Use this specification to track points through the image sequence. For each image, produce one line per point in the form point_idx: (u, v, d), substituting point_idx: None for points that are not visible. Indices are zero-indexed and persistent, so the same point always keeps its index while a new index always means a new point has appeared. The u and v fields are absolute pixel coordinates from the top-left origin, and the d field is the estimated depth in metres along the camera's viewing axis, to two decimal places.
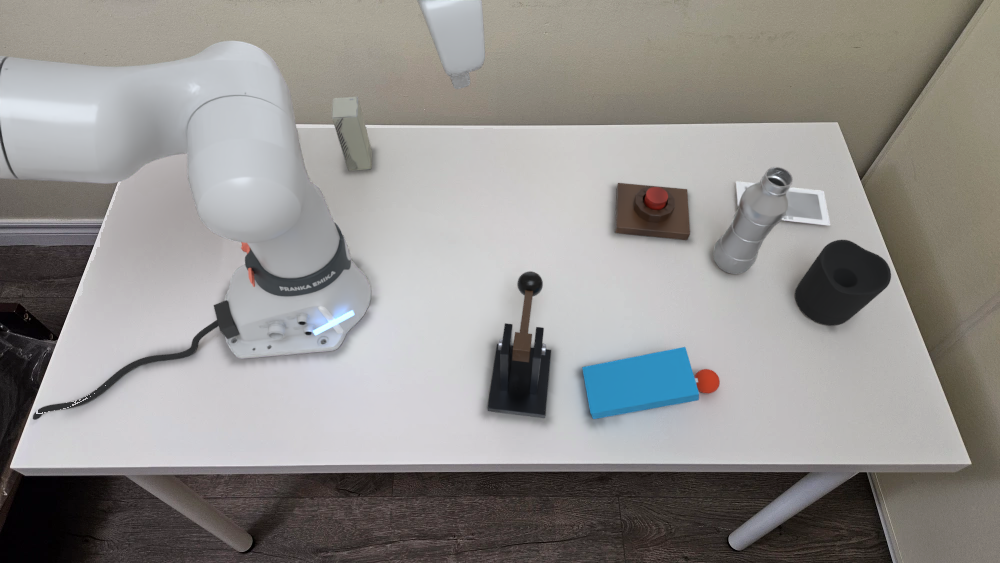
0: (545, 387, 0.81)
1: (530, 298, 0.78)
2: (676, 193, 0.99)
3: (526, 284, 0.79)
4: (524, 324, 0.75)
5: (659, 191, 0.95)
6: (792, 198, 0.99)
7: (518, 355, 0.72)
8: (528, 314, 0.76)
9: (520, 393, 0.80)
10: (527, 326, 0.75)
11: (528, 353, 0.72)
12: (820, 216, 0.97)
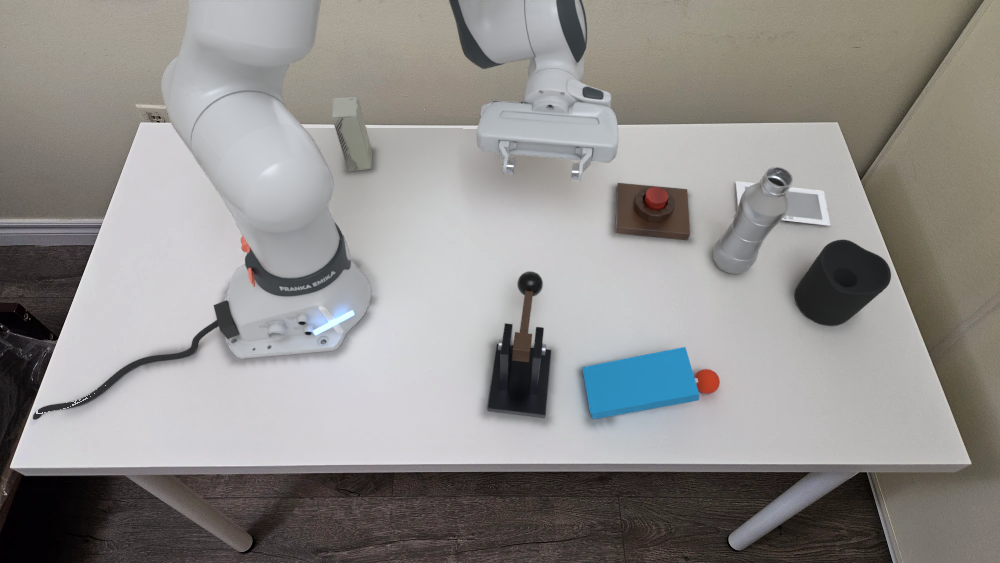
0: (545, 387, 0.81)
1: (530, 298, 0.78)
2: (676, 193, 0.99)
3: (526, 284, 0.79)
4: (524, 324, 0.75)
5: (659, 191, 0.95)
6: (792, 198, 0.99)
7: (518, 355, 0.72)
8: (528, 314, 0.76)
9: (520, 393, 0.80)
10: (527, 326, 0.75)
11: (528, 353, 0.72)
12: (820, 216, 0.97)
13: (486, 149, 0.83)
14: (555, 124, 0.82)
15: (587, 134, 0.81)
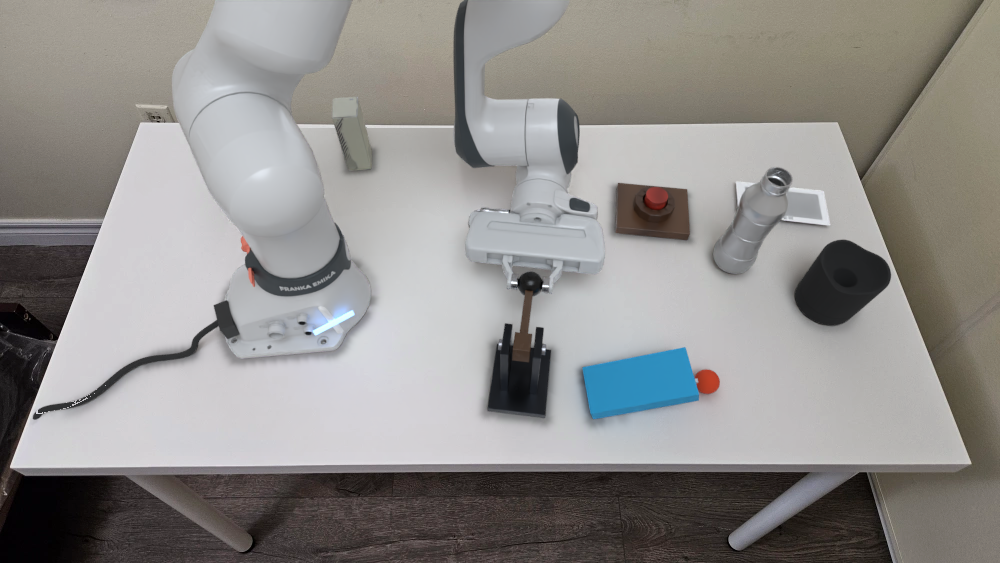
0: (545, 387, 0.81)
1: (530, 298, 0.78)
2: (676, 193, 0.99)
3: (526, 284, 0.79)
4: (524, 324, 0.75)
5: (659, 191, 0.95)
6: (792, 198, 0.99)
7: (518, 355, 0.72)
8: (528, 314, 0.76)
9: (520, 393, 0.80)
10: (527, 326, 0.75)
11: (528, 353, 0.72)
12: (820, 216, 0.97)
13: (474, 259, 0.84)
14: (542, 237, 0.83)
15: (573, 248, 0.82)
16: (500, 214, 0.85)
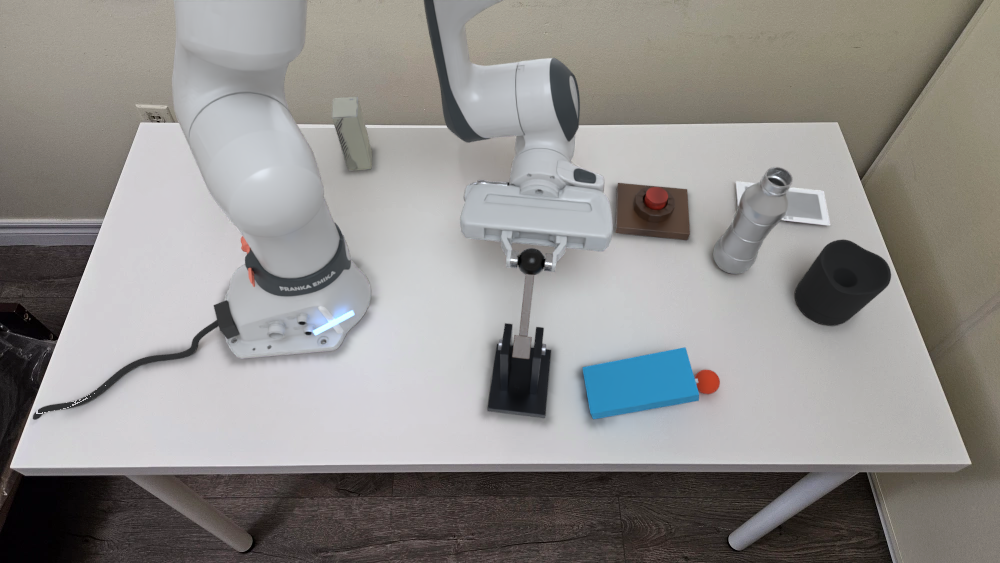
0: (545, 387, 0.81)
1: (531, 285, 0.73)
2: (676, 193, 0.99)
3: (526, 269, 0.73)
4: (524, 321, 0.73)
5: (659, 191, 0.95)
6: (792, 198, 0.99)
7: None
8: (528, 307, 0.73)
9: (520, 393, 0.80)
10: (527, 323, 0.73)
11: None
12: (820, 216, 0.97)
13: (470, 236, 0.77)
14: (544, 211, 0.76)
15: (578, 223, 0.75)
16: (498, 187, 0.78)
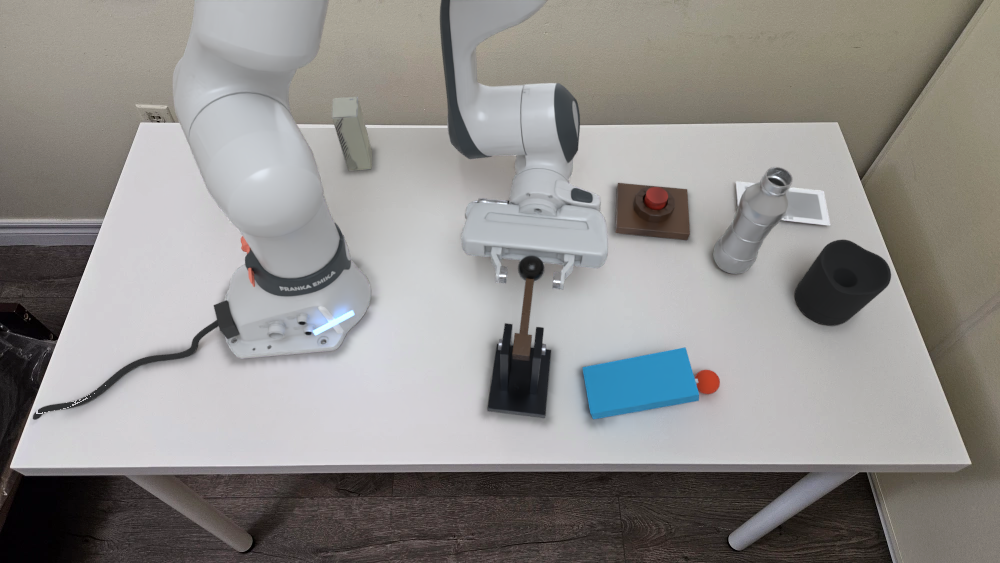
0: (545, 387, 0.81)
1: (531, 288, 0.76)
2: (676, 193, 0.99)
3: (527, 273, 0.76)
4: (524, 321, 0.74)
5: (659, 191, 0.95)
6: (792, 198, 0.99)
7: (518, 357, 0.73)
8: (528, 309, 0.75)
9: (520, 393, 0.80)
10: (527, 323, 0.74)
11: (528, 357, 0.72)
12: (820, 216, 0.97)
13: (471, 253, 0.80)
14: (542, 229, 0.79)
15: (575, 241, 0.78)
16: (498, 205, 0.81)
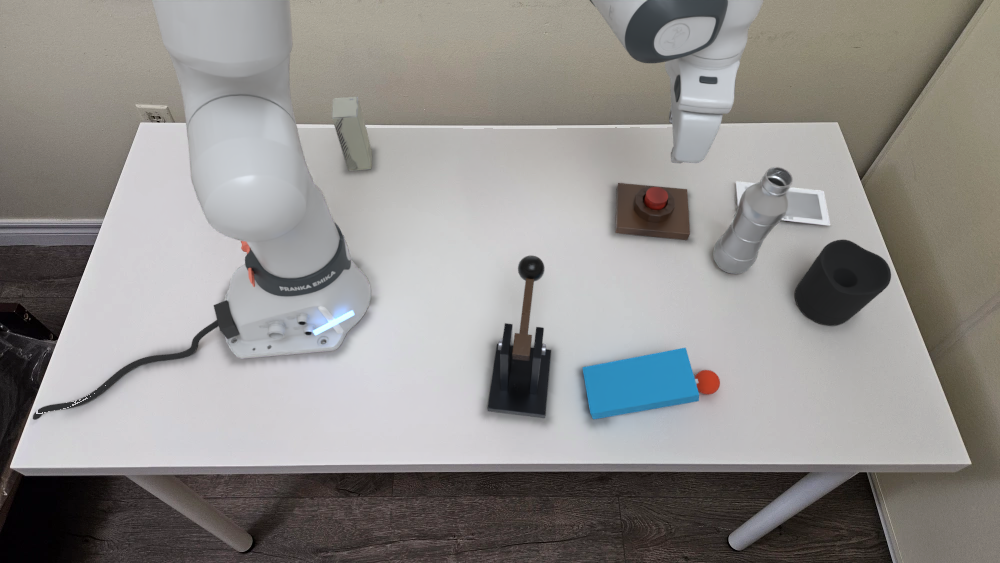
0: (545, 387, 0.81)
1: (531, 288, 0.76)
2: (676, 193, 0.99)
3: (527, 273, 0.76)
4: (524, 321, 0.74)
5: (659, 191, 0.95)
6: (792, 198, 0.99)
7: (518, 357, 0.73)
8: (528, 309, 0.75)
9: (520, 393, 0.80)
10: (527, 323, 0.74)
11: (528, 357, 0.72)
12: (820, 216, 0.97)
13: None
14: None
15: (675, 131, 0.77)
16: None
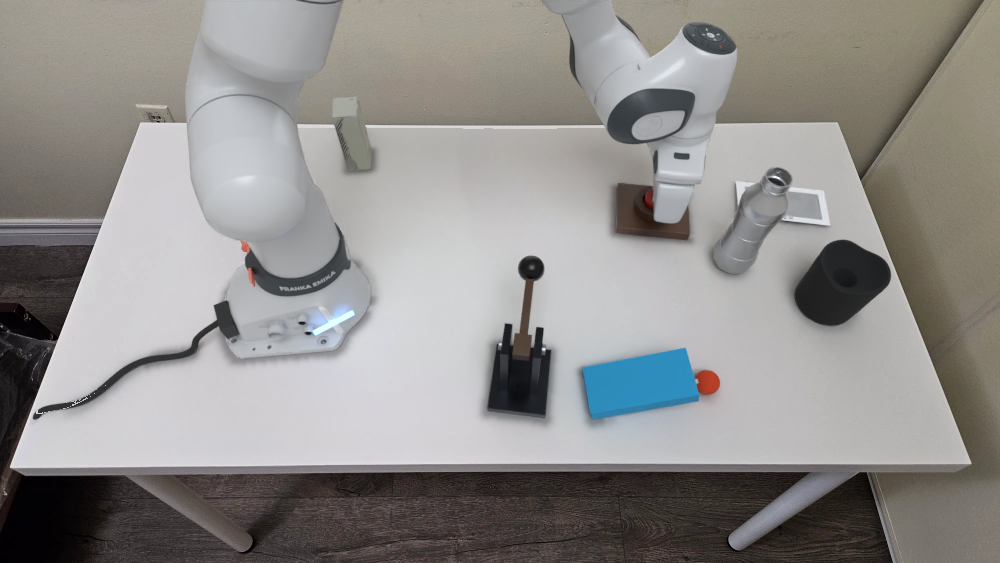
0: (545, 387, 0.81)
1: (531, 288, 0.76)
2: None
3: (527, 273, 0.76)
4: (524, 321, 0.74)
5: None
6: (792, 198, 0.99)
7: (518, 357, 0.73)
8: (528, 309, 0.75)
9: (520, 393, 0.80)
10: (527, 323, 0.74)
11: (528, 357, 0.72)
12: (820, 216, 0.97)
13: None
14: None
15: (655, 194, 0.87)
16: None
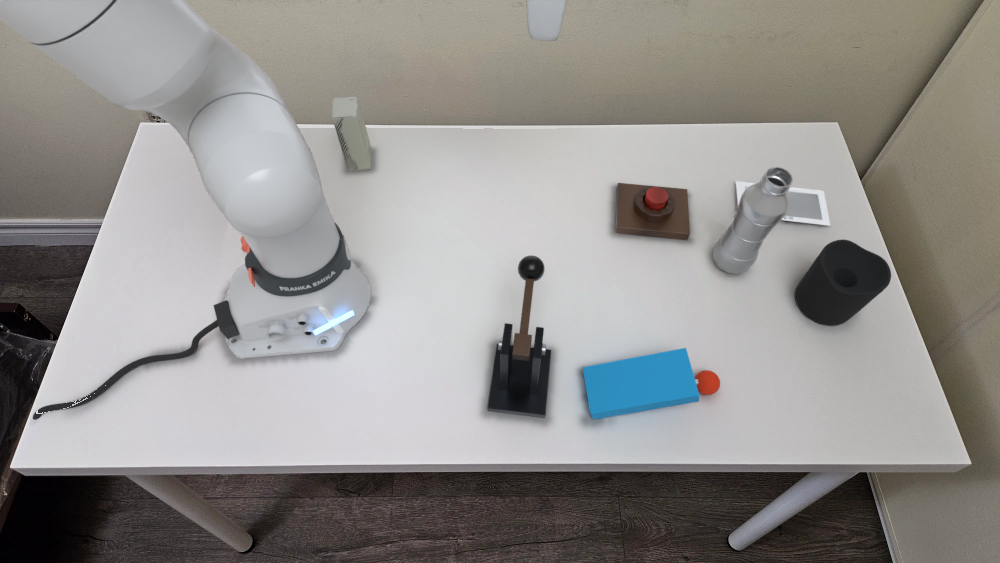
0: (545, 387, 0.81)
1: (531, 288, 0.76)
2: (676, 193, 0.99)
3: (527, 273, 0.76)
4: (524, 321, 0.74)
5: (659, 191, 0.95)
6: (792, 198, 0.99)
7: (518, 357, 0.73)
8: (528, 309, 0.75)
9: (520, 393, 0.80)
10: (527, 323, 0.74)
11: (528, 357, 0.72)
12: (820, 216, 0.97)
13: None
14: None
15: None
16: None
